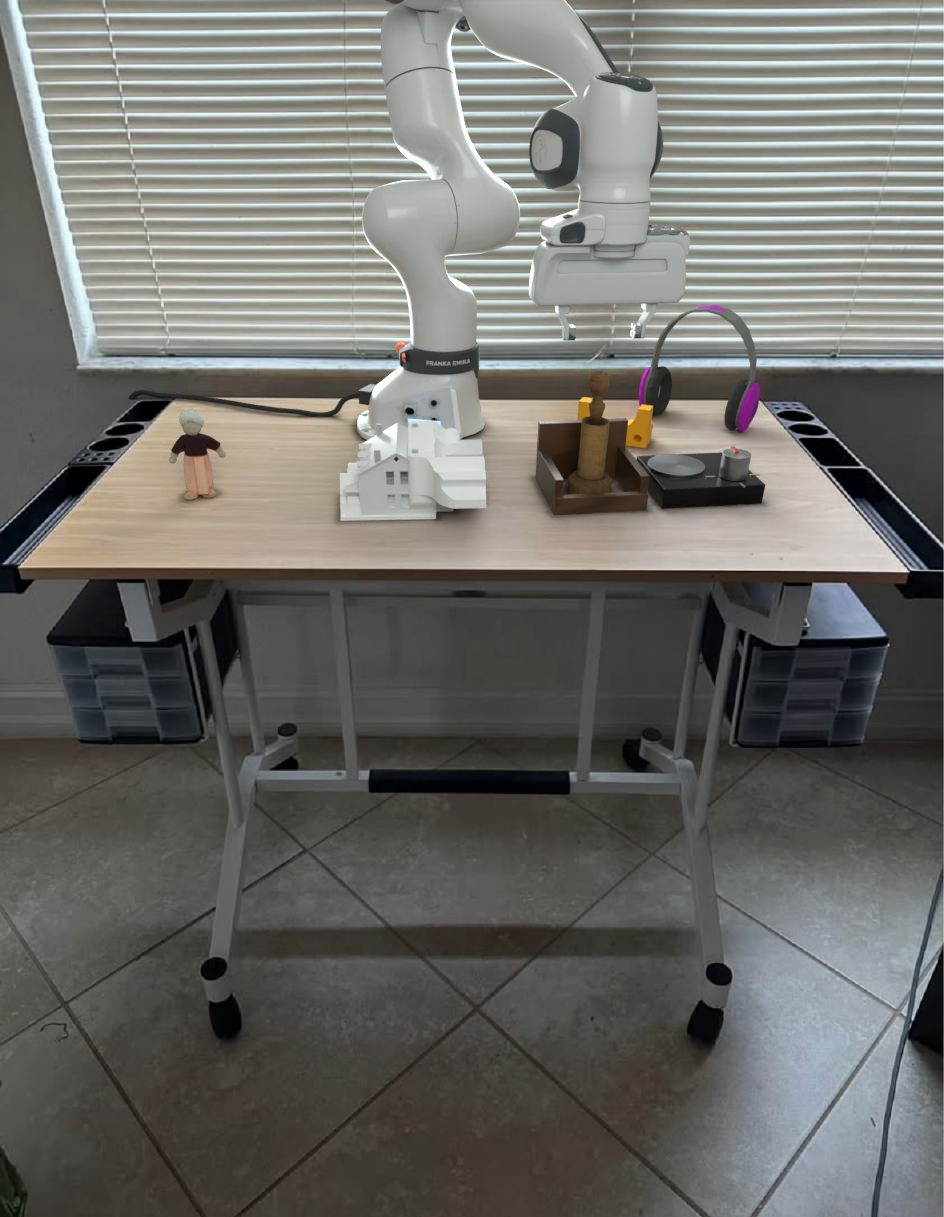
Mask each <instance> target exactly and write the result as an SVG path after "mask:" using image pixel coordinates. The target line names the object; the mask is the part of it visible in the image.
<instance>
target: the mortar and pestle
mask: <svg viewBox="0 0 944 1217" xmlns="http://www.w3.org/2000/svg"><path fill="white" fill-rule="evenodd" d="M610 386H611V378H610V375H609V374H608V372H606V371H604V370H595V371H592V372H591V373H590V375H589V377H588V379H587V387H588V388H589V391H590V393H591V395H592V397H591V398H592V401H591V402H590V403H589V411H590V416H589V417H584V418H583V419H582V425H581V438H580V449H579V459H578V469H577V470H576V471H575V472H574V473H572V474H571V475H570V476H569V477H568V480H567V485H566V493H567V495H571V494H592V493H612V490H613V489H612V488H613V478H610V477H609V476H608V475H607V473H605V472H604V471H605V461H606V452H607V444H608V435H609V426H610V421H609V420H608V419H609V418H605V417H604V415H603V414H604V412H605V409H606V403H604V400H603V399H604V395H605V394H606V392H607V391H608V389H609V388H610Z"/></svg>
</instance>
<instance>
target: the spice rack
mask: <svg viewBox="0 0 944 1217" xmlns="http://www.w3.org/2000/svg"><path fill="white" fill-rule="evenodd" d="M607 419H608V420H609V421H610V426H609V435H608V444H607V452H606V461H605V471H604V472H605V473H607V475H608V476H609V477H610V478H611V479H613V478H615V480H616V481H617V482H618V484H619V486H621V488H622V489H623V491H615V492H611V493H592V494H571V495H568V494H564V483H565V480H567V481H568V477H569V476H570V475H571V474H572V473H574V472H575V471H576V470H577V469H578V459H579V449H580V438H581V425H582V420H578V419H568V420H567V419H566V420H538V422H537V442H536V443H537V444H536V460H535V461H536V462H535V480H536V481H537V484H538V485H539V487H540V489H541V491H542V493H543V495H544V497H545V499H546V501H547V503H548V505H549V507H550V509H551V511H552V513H553V515H554V516H561V515H562V516H563V515H580V514H581V515H582V514H583V515H584V514H599V513H600V514H601V513H602V514H603V513H619V512H620V513H623V512H641V511H642V512H643V511H648V503H649V494H650V493H649V492H648V483H649V475H648V474H647V473H646V471H645V470H644V469H643V468H642V466H641V465H640V464H639V463H638V461H637V458H636V457H635V456H634V455H633V454H632V453H631V451H630V450H629V448H627V445H626V437H627V428H628V421H629V419H627V418H626V417H622V418H607Z"/></svg>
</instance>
